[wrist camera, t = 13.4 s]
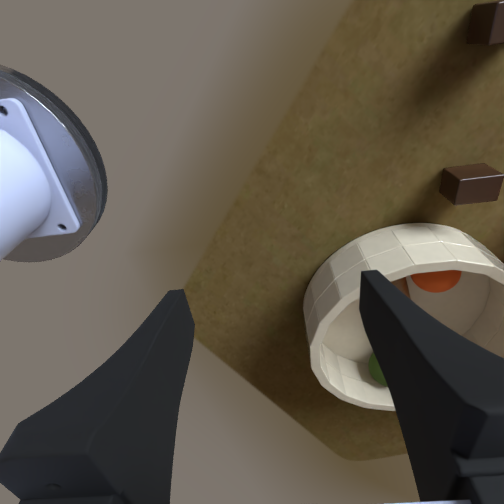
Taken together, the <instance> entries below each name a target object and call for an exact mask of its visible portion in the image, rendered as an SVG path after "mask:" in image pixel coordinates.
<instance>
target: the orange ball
mask: <svg viewBox="0 0 504 504" xmlns="http://www.w3.org/2000/svg"><path fill="white" fill-rule="evenodd" d="M461 273H462V271H457V270H447V271H437V272H427V273H417V274H412V275H410V276H411V279H412V280H413V282H414V283H415V284H416V285H417V286H418V287H419V288H421V289H423V290H425V291H428V292H432V293H439V292H444V291H447V290H449V289H451V288H453V287H454V286H455V285H456V284H457V283H458V281H459V279H460V277H461Z"/></svg>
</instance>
